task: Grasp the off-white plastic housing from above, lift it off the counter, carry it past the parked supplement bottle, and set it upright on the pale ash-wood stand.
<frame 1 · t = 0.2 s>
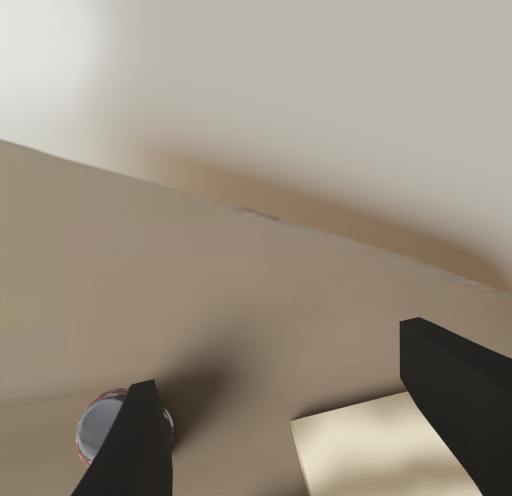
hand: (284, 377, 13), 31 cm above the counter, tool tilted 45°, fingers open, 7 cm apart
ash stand: (389, 486, 40), on the counter
supplement bottle: (141, 434, 41), on the counter
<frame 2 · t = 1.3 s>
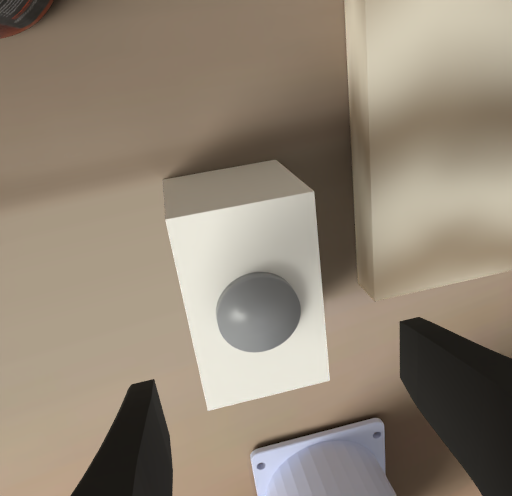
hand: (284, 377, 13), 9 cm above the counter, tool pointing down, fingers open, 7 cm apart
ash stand: (491, 121, 22), on the counter
housing: (233, 251, 22), on the counter
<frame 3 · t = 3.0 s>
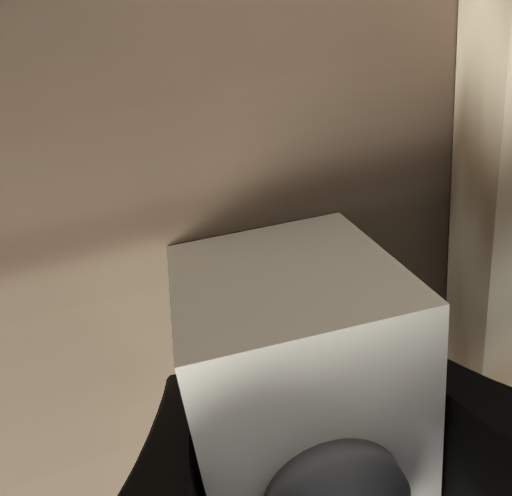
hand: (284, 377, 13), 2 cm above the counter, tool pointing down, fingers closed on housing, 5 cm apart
housing: (271, 345, 15), on the counter, touching gripper
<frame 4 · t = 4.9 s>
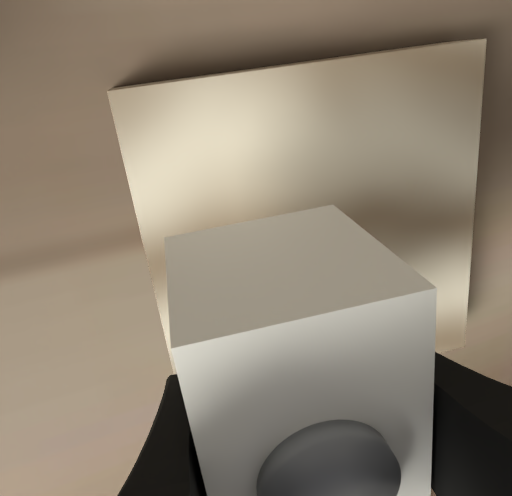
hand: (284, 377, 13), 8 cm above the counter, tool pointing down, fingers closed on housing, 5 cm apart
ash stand: (306, 228, 21), on the counter
housing: (267, 336, 15), point 6 cm above the counter, touching gripper
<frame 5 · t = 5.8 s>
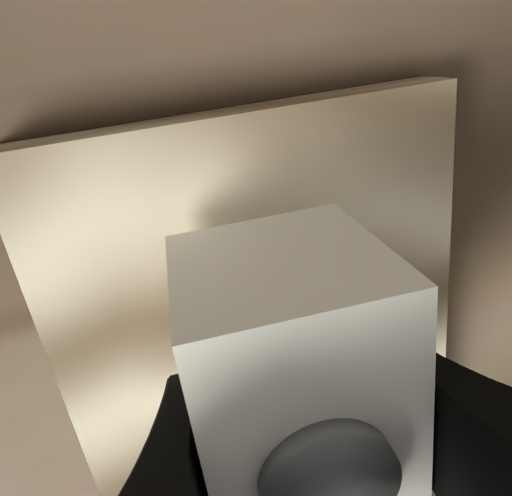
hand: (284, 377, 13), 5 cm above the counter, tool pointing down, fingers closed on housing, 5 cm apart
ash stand: (251, 296, 18), on the counter
housing: (268, 335, 15), point 3 cm above the counter, touching gripper
when the fingers open (5 cm above the counter, at t = 6.8 s): housing stays where it is, resting on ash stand.
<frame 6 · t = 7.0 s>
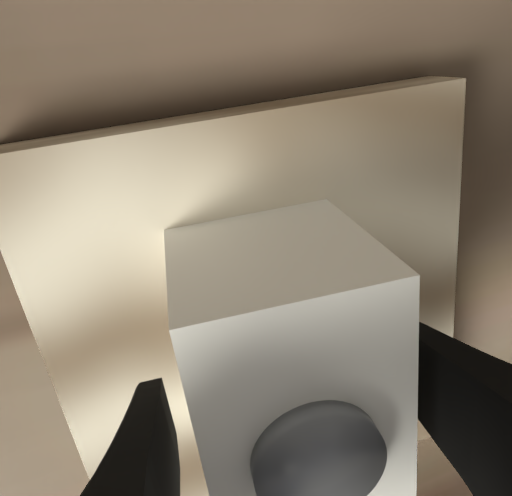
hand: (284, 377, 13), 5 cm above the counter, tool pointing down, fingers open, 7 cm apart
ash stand: (253, 300, 17), on the counter
housing: (263, 326, 15), point 2 cm above the counter, touching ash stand
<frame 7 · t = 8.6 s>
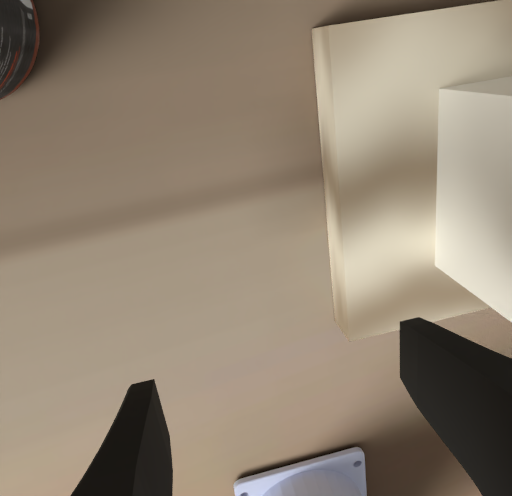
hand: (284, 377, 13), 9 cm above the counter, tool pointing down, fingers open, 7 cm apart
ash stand: (462, 166, 22), on the counter
housing: (488, 173, 20), point 2 cm above the counter, touching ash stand
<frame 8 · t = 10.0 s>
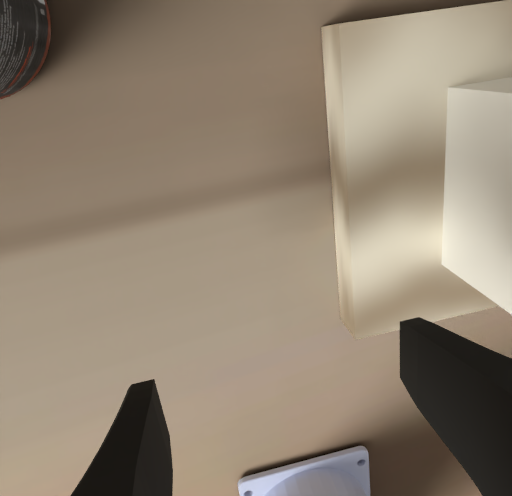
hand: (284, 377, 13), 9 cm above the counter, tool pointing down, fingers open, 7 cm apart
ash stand: (468, 166, 22), on the counter
housing: (495, 172, 21), point 2 cm above the counter, touching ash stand
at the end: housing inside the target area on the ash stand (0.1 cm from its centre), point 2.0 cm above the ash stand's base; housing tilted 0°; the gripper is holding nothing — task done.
